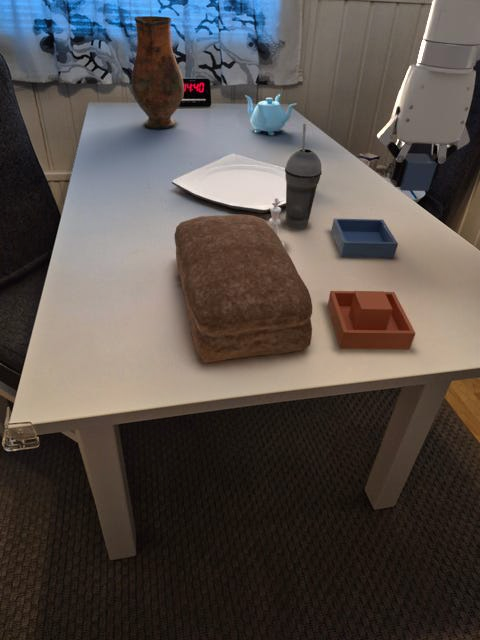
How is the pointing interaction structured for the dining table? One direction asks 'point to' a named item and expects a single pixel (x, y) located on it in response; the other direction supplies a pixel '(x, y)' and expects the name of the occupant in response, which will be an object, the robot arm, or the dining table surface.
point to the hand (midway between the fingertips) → (410, 183)
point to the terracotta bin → (348, 338)
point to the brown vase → (156, 72)
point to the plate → (237, 183)
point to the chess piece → (275, 216)
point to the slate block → (417, 172)
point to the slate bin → (363, 238)
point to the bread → (241, 288)
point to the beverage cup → (301, 185)
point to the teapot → (268, 115)
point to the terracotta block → (370, 310)
